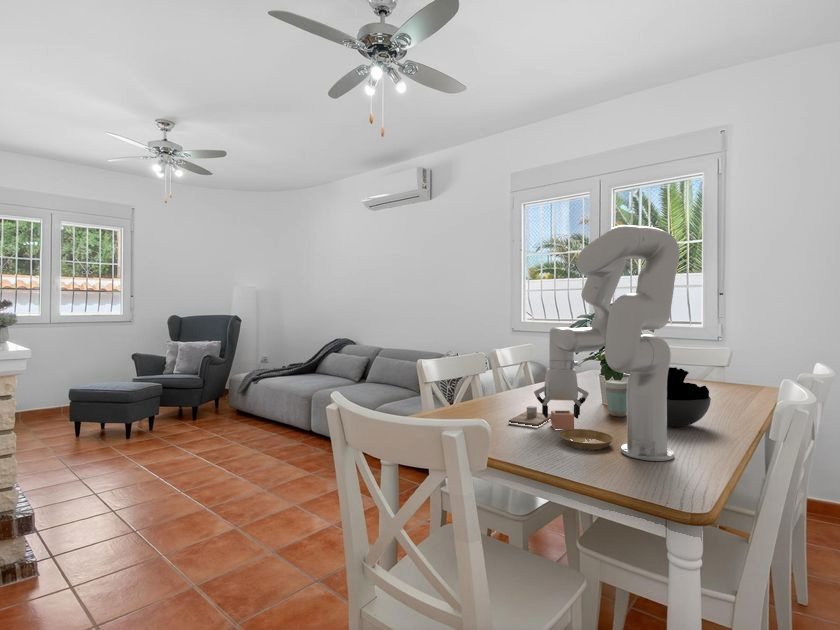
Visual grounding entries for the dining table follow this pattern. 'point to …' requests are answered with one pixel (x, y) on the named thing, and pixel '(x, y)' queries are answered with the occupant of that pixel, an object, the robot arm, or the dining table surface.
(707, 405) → the coal bowl
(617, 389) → the coffee cup
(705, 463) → the dining table surface
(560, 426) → the salmon pink cube
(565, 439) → the plant saucer
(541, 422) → the base
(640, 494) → the dining table surface
